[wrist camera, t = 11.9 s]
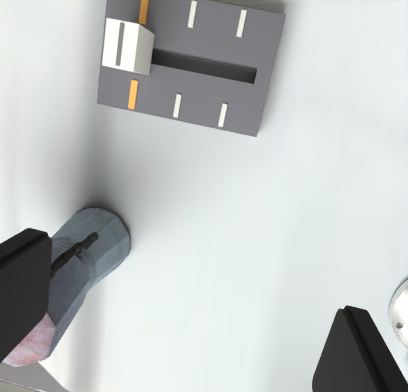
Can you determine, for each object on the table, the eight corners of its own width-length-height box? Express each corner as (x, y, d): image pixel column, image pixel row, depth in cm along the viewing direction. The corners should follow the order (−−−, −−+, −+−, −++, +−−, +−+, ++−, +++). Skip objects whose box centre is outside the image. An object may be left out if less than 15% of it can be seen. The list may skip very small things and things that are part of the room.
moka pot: (42, 251, 47) (-102, 356, 28) (102, 168, 42) (-21, 224, 23) (97, 294, 47) (-7, 424, 28) (162, 217, 43) (90, 310, 24)
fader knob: (153, 76, 37) (132, 71, 31) (127, 71, 38) (101, 65, 31) (159, 37, 36) (138, 23, 30) (132, 32, 36) (106, 17, 30)
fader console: (256, 134, 39) (256, 137, 36) (106, 103, 40) (96, 103, 37) (283, 20, 35) (285, 14, 33) (118, -10, 36) (107, -19, 34)
